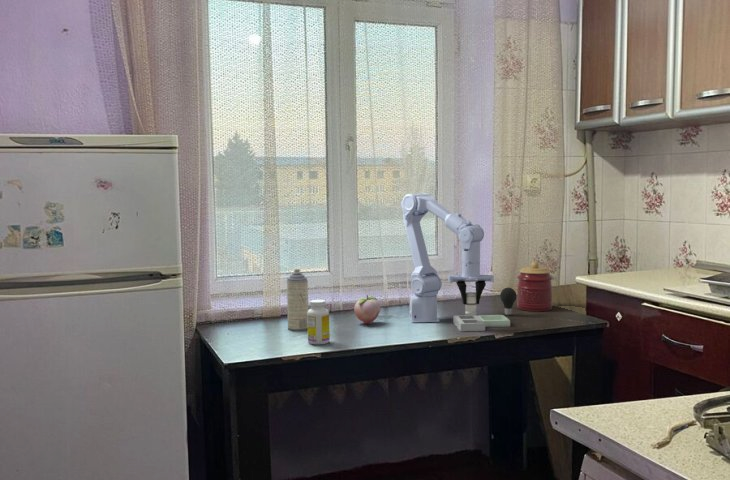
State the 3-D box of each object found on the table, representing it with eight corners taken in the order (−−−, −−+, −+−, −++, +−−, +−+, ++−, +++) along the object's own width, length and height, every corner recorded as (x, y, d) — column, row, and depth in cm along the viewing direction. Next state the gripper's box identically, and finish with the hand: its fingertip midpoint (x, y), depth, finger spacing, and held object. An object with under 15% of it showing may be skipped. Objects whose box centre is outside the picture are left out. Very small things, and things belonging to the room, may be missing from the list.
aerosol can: (312, 327, 234) (311, 268, 232) (302, 332, 228) (301, 271, 226) (294, 325, 237) (293, 267, 235) (284, 330, 230) (282, 269, 228)
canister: (510, 306, 266) (510, 260, 264) (540, 304, 270) (541, 258, 268) (528, 313, 254) (528, 264, 252) (559, 310, 258) (560, 262, 256)
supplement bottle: (329, 339, 217) (329, 298, 216) (329, 344, 210) (328, 302, 209) (308, 340, 217) (307, 299, 216) (307, 345, 210) (306, 303, 209)
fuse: (466, 315, 227) (466, 294, 226) (464, 313, 231) (464, 292, 230) (477, 315, 227) (477, 293, 226) (475, 312, 231) (475, 291, 230)
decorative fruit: (363, 320, 244) (363, 291, 243) (384, 322, 240) (383, 293, 239) (349, 325, 236) (348, 296, 235) (370, 328, 232) (369, 298, 231)
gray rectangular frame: (460, 331, 226) (460, 323, 226) (453, 322, 239) (453, 315, 239) (485, 330, 226) (485, 323, 226) (476, 322, 239) (476, 315, 239)
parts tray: (482, 327, 232) (482, 321, 232) (476, 321, 241) (476, 315, 241) (510, 326, 232) (510, 320, 232) (503, 320, 241) (503, 314, 241)
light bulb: (515, 313, 252) (515, 286, 251) (517, 317, 247) (517, 289, 246) (499, 313, 253) (499, 286, 252) (500, 316, 247) (501, 288, 246)
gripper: (451, 264, 223) (450, 306, 224) (496, 263, 224) (495, 305, 225) (447, 261, 230) (447, 302, 231) (491, 260, 231) (490, 301, 232)
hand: (470, 303), depth 229 cm, fingers closed on fuse, 4 cm apart
